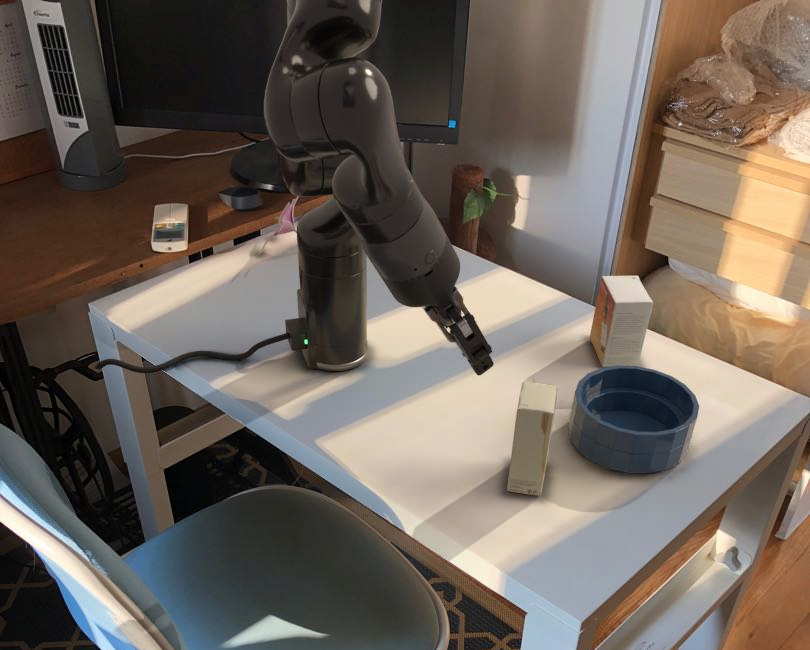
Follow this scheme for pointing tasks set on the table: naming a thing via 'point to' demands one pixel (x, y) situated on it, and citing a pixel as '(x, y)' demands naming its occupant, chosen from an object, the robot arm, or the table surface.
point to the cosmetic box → (532, 437)
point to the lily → (285, 221)
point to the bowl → (632, 418)
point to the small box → (620, 320)
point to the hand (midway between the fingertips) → (466, 346)
